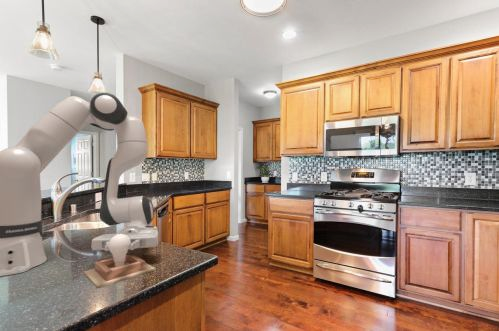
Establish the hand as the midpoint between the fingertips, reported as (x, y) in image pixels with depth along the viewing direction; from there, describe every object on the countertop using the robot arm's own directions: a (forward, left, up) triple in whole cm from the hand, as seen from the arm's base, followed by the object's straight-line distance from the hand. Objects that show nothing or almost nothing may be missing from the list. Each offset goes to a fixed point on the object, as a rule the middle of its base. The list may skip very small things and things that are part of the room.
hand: (118, 248), depth 76 cm
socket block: (+1, +1, -8) cm, 8 cm away
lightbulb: (0, +1, -7) cm, 7 cm away
